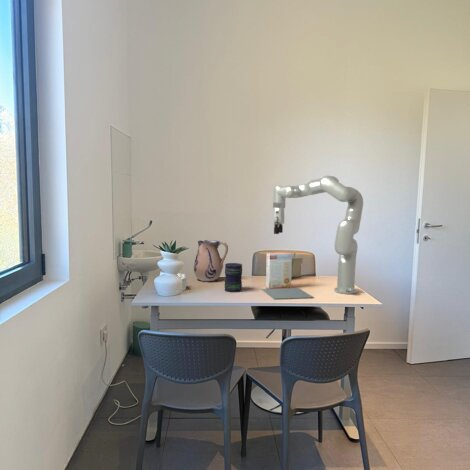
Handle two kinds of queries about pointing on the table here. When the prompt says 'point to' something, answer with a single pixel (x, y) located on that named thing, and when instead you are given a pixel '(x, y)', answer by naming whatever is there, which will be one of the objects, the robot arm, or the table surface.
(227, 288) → the storage jar
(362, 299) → the table surface
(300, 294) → the mat
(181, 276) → the white gift box
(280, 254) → the cracker box
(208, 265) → the ceramic pitcher
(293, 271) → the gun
